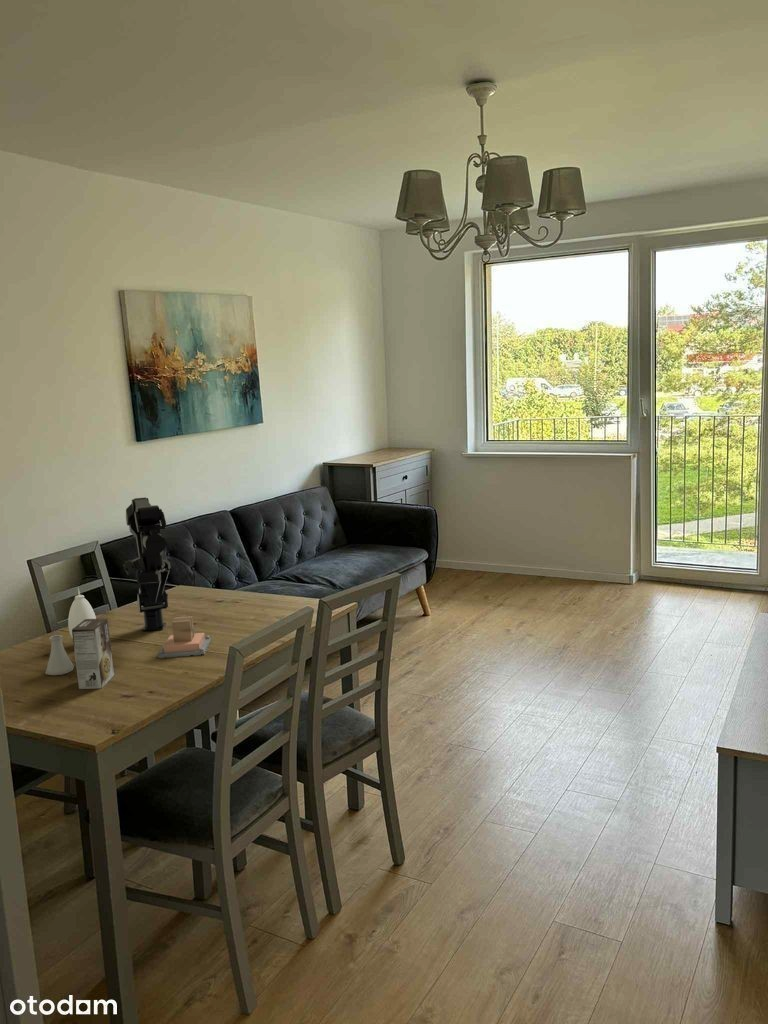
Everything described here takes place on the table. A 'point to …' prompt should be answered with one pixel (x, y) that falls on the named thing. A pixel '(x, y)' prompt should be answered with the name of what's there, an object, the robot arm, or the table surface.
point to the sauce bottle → (79, 612)
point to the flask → (58, 658)
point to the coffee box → (93, 653)
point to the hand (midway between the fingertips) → (156, 598)
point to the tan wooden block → (183, 629)
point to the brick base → (186, 653)
